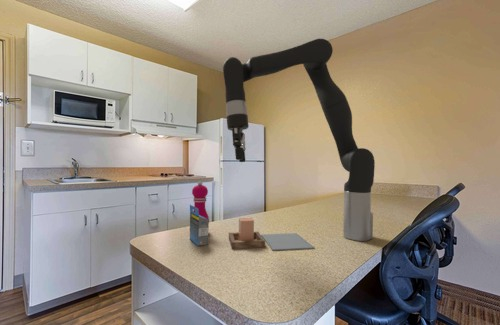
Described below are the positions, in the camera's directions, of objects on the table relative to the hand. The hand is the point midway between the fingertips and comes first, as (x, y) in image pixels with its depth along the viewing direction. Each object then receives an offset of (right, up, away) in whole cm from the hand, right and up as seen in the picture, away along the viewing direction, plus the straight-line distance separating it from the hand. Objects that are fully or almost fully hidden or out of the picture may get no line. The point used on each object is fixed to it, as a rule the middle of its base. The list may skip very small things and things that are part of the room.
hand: (240, 160), depth 86 cm
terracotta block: (+2, -28, -2) cm, 28 cm away
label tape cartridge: (-15, -28, -1) cm, 32 cm away
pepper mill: (-16, -28, +9) cm, 34 cm away
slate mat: (+16, -28, 0) cm, 32 cm away
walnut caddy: (+2, -28, -2) cm, 28 cm away
